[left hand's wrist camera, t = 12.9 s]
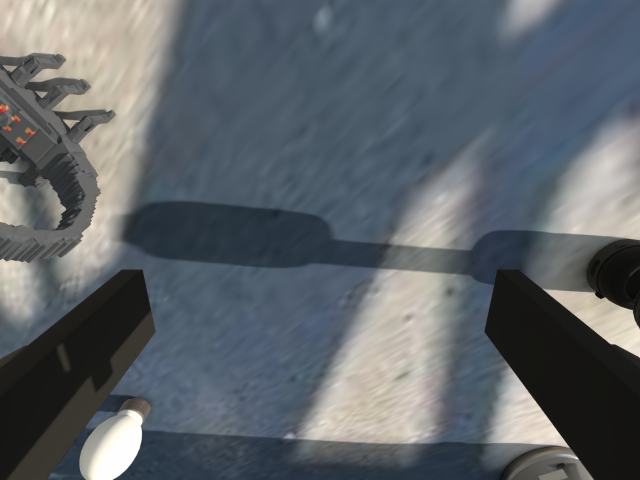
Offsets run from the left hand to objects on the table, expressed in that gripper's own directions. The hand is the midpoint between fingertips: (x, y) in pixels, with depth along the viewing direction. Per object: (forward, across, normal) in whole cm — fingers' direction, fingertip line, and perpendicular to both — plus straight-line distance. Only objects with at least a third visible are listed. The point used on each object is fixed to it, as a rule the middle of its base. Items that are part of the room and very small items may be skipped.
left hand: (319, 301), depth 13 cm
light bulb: (+29, -28, -36) cm, 54 cm away
